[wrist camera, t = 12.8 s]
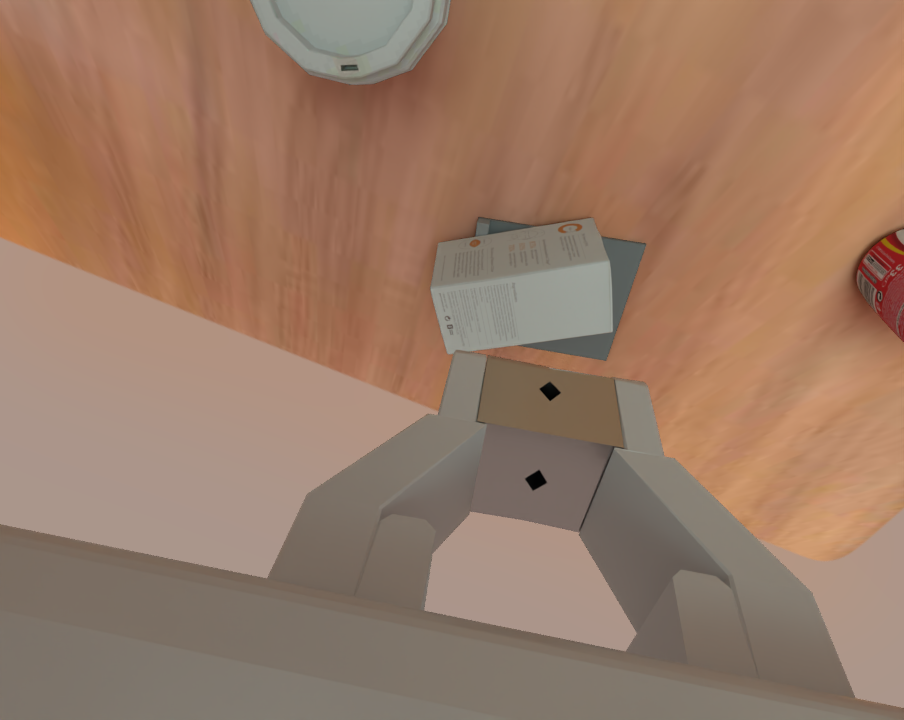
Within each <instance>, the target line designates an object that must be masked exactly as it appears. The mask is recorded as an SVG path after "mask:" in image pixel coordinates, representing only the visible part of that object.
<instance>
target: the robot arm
mask: <svg viewBox="0 0 904 720" xmlns="http://www.w3.org/2000/svg"><path fill="white" fill-rule="evenodd" d="M486 359H487V362H486ZM485 365H486V367H485ZM484 371H485V372H484ZM470 511H471V512H478V513H483V514H490V515H496V516H502V517H508V518H514V519H520V520H525V521H530V522H534V523H539V524H544V525H548V526H553V527H557V528H562V529H566V530H571V531H576V532H580V533H579V536H580V538H581V539H582V541H583V543H584V544H585V546H586V548H587V549H588V551H589V553H590V555H591V556H592V558H593V560H594V561H595V563H596V565H597V566H598V568H599V570H600V571H601V573H602V574H603V576H604V578H605V580H606V582H607V583H608V585H609V587H610V588H611V590H612V592H613V593H614V595H615V596H616V598H617V600H618V601H619V604H620V605H621V607H622V608H623V610H624V612H625V614H626V615H627V617H628V619H629V620H630V622H631V624H632V625H633V627H634V629H635V630H636V632H637V635H636V636H635V638H634V639H633V641H632V642H631V644H630V645H629V647H628V649H627V650H626V652H625V651H620V650H615V649H610V648H605V647H600V646H595V645H590V644H585V643H580V642H575V641H570V640H565V639H560V638H555V637H550V636H546V635H541V634H536V633H531V632H526V631H521V630H516V629H511V628H506V627H501V626H496V625H491V624H486V623H481V622H476V621H472V620H467V619H462V618H457V617H452V616H447V615H442V614H437V613H433V612H427V611H424V607H425V601H426V594H427V587H428V580H429V574H430V567H431V560H432V554H433V553H434V551H435V550H436V549H437V548H438V547H439V546H440V545H441V544H442V543H443V542H444V541H445V540H446V538H448V537H449V535H450V534H451V533H452V532H453V531H454V530H455V529H456V528H457V527H458V526H459V525H460V524H461V523H462V522H463V521H464V519H465V518H466V517H467V516H468V515H469V513H470ZM0 720H904V708H901V707H896V706H891V705H886V704H881V703H876V702H871V701H866V700H861V699H856V698H855V696H854V693H853V691H852V688H851V686H850V683H849V681H848V679H847V676H846V674H845V671H844V669H843V667H842V664H841V662H840V659H839V657H838V654H837V652H836V650H835V647H834V645H833V642H832V640H831V637H830V635H829V633H828V630H827V628H826V625H825V623H824V621H823V618H822V616H821V613H820V611H819V608H818V606H817V603H816V601H815V599H814V596H813V594H812V592H811V591H810V590H809V589H808V588H807V587H806V586H805V585H804V584H803V583H801V581H799V579H798V578H796V577H795V576H794V575H793V574H792V573H791V572H790V571H789V570H788V569H787V568H786V567H785V566H784V565H783V564H782V563H781V562H780V561H779V560H778V559H777V558H776V557H775V556H774V555H773V554H772V553H771V552H770V551H769V550H768V549H767V548H766V547H765V546H764V545H763V544H762V543H761V542H760V541H758V539H757V538H756V537H754V536H753V535H752V534H751V533H750V532H749V531H748V530H747V529H746V528H745V527H744V526H743V525H742V524H741V523H740V522H739V521H738V520H737V519H736V518H735V517H734V516H733V515H732V514H731V513H730V512H729V511H728V510H727V509H726V508H725V507H724V506H723V505H722V504H721V503H720V502H719V501H718V500H717V499H716V498H715V497H714V496H713V495H711V494H710V493H709V492H708V491H707V490H706V489H705V488H704V487H703V486H702V485H701V484H700V483H699V482H698V481H697V480H696V479H695V478H694V477H693V476H692V475H691V474H690V473H689V472H688V471H687V470H686V469H685V468H684V467H683V466H682V465H681V464H680V463H679V462H678V461H677V460H676V459H675V458H669V457H665V456H664V452H663V448H662V443H661V439H660V435H659V431H658V427H657V422H656V418H655V414H654V410H653V405H652V401H651V397H650V393H649V389H648V386H647V385H646V384H645V382H642V381H635V380H628V379H621V378H614V377H612V378H608V377H602V376H596V375H590V374H584V373H578V372H572V371H566V370H560V369H554V368H549V367H546V366H541V365H536V364H531V363H526V362H521V361H516V360H511V359H505V358H500V357H495V356H490V355H488V357H486V355H485V354H479V353H474V352H468V351H462V350H457V349H456V351H455V352H454V354H453V357H452V361H451V365H450V369H449V373H448V377H447V381H446V384H445V388H444V392H443V396H442V400H441V404H440V408H439V412H438V415H434V414H427V415H425V416H424V417H422V418H421V419H419V420H418V421H416V422H415V423H413V424H412V425H410V426H409V427H407V428H406V429H404V430H403V431H401V432H400V433H398V434H397V435H395V436H394V437H392V438H391V439H389V440H388V441H386V442H385V443H383V444H382V445H380V446H379V447H377V448H376V449H374V450H373V451H371V452H370V453H368V454H367V455H365V456H363V457H362V458H360V459H359V460H358V461H356V462H355V463H353V464H352V465H350V466H348V467H347V468H345V469H344V470H342V471H341V472H340V473H338V474H337V475H335V476H333V477H332V478H330V479H329V480H327V481H326V482H324V483H323V484H321V485H320V486H319V487H317V488H315V489H314V490H312V491H311V492H309V493H308V494H307V495H306V497H305V500H304V502H303V504H302V506H301V508H300V510H299V512H298V514H297V516H296V519H295V521H294V523H293V525H292V527H291V529H290V531H289V533H288V536H287V538H286V540H285V542H284V544H283V546H282V548H281V550H280V552H279V555H278V557H277V559H276V561H275V563H274V565H273V567H272V569H271V571H270V573H269V576H268V578H262V577H257V576H252V575H247V574H242V573H237V572H232V571H228V570H222V569H218V568H213V567H208V566H203V565H198V564H193V563H188V562H183V561H178V560H173V559H168V558H163V557H159V556H154V555H149V554H144V553H138V552H134V551H129V550H124V549H119V548H114V547H109V546H104V545H99V544H94V543H89V542H85V541H80V540H75V539H70V538H65V537H60V536H55V535H50V534H45V533H40V532H35V531H31V530H25V529H20V528H16V527H10V526H6V525H1V524H0Z"/></svg>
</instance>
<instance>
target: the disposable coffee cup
mask: <svg viewBox="0 0 904 720" xmlns="http://www.w3.org/2000/svg"><path fill="white" fill-rule="evenodd" d="M250 1H251V4H252V6H253V8H254V10H255V12H256V15H257V17H258V19H259V21H260V24H261V26H262V28H263V30H264V33H265V35H267V36H268V37H269V38H270V39H271V40H272V41H273V42H274V43H275V44H276V45H278V46H279V47H280V48H281V49H282V50H283V51H284V52H285V53H286V54H287V55H288V56H290V57H291V58H292V59H293V60H294V61H295V62H296V63H297V64H298V65H299V66H300V67H302V68H303V69H304V70H305V71H306V72H307V73H308V74H309V75H313V76H317V77H321V78H325V79H329V80H333V81H337V82H341V83H345V84H349V85H362V84H375V83H378V82H381V81H383V80H386V79H389V78H391V77H394V76H397V75H400V74H402V73H405V72H408V71H410V70H412V69H413V68H414V67H415V65H416V64H417V63H418V61H419V60H420V59H421V57H422V56H423V55H424V53H425V52H426V51H427V49H428V48H429V47H430V45H431V44H432V43H433V41H434V40H435V39H436V37H437V36H438V35H439V33H440V32H441V31H442V29H443V28H444V27H445V25H446V24H447V19H448V13H449V7H450V2H451V0H250Z"/></svg>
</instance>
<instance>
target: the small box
mask: <svg viewBox="0 0 904 720" xmlns="http://www.w3.org/2000/svg"><path fill="white" fill-rule="evenodd" d="M430 290H431V295H432V299H433V303H434V307H435V311H436V315H437V318H438V322H439V326H440V330H441V334H442V337H443V340H444V344H445V348H446V351H447V353H448V354H454V352H455V351H456V349H457V350H462V351H468V352H472V351H479V350H486V349H493V348H501V347H508V346H515V345H522V344H530V343H537V342H545V341H552V340H559V339H567V338H574V337H581V336H588V335H596V334H604V333H611V332H613V313H612V281H611V267H610V261H609V258H608V256H607V254H606V251H605V248H604V246H603V241H602V238H601V235H600V233H599V232H598V230H597V228H596V225H595V222H594V219H593V218H587V219H581V220H574V221H568V222H563V223H557V224H550V225H544V226H538V227H532V228H526V229H519V230H513V231H507V232H501V233H495V234H489V235H483V236H477V237H471V238H464V239H458V240H452V241H445V242H439V243H438V248H437V254H436V260H435V265H434V271H433V276H432V281H431V286H430Z"/></svg>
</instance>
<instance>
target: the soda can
mask: <svg viewBox="0 0 904 720" xmlns="http://www.w3.org/2000/svg"><path fill="white" fill-rule="evenodd" d="M856 280H857V286H858V288H859V290H860V292H861V293H862V295H863V296H864V298H865V299H866V301H867V302H868V304H869V305H870V306H871V307H872V309H873V310H874V311H875V312H876V313H877V314H878V315H879V316H880V317H881V319H882V320H883V321H884V322H885V323H886V324H887V325H888V326H889V327H890V328H891V329H892V330H893V332H894V333H895V334H896V335H897V336H898V337H899V338H900V339H901V340H902V341H903V342H904V229H903V230H900V231H897V232H895V233H893V234H891V235H889V236H887V237H885V238H884V239H882V240H881V241H880V242H878V243H877V244H876V245H874V246H873V247H872V248H871V249H870V250H869V251H868V253H867V254H866V255H865V256H864V258H863V259H862V261H861V263H860V265H859V267H858V271H857V277H856Z"/></svg>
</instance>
